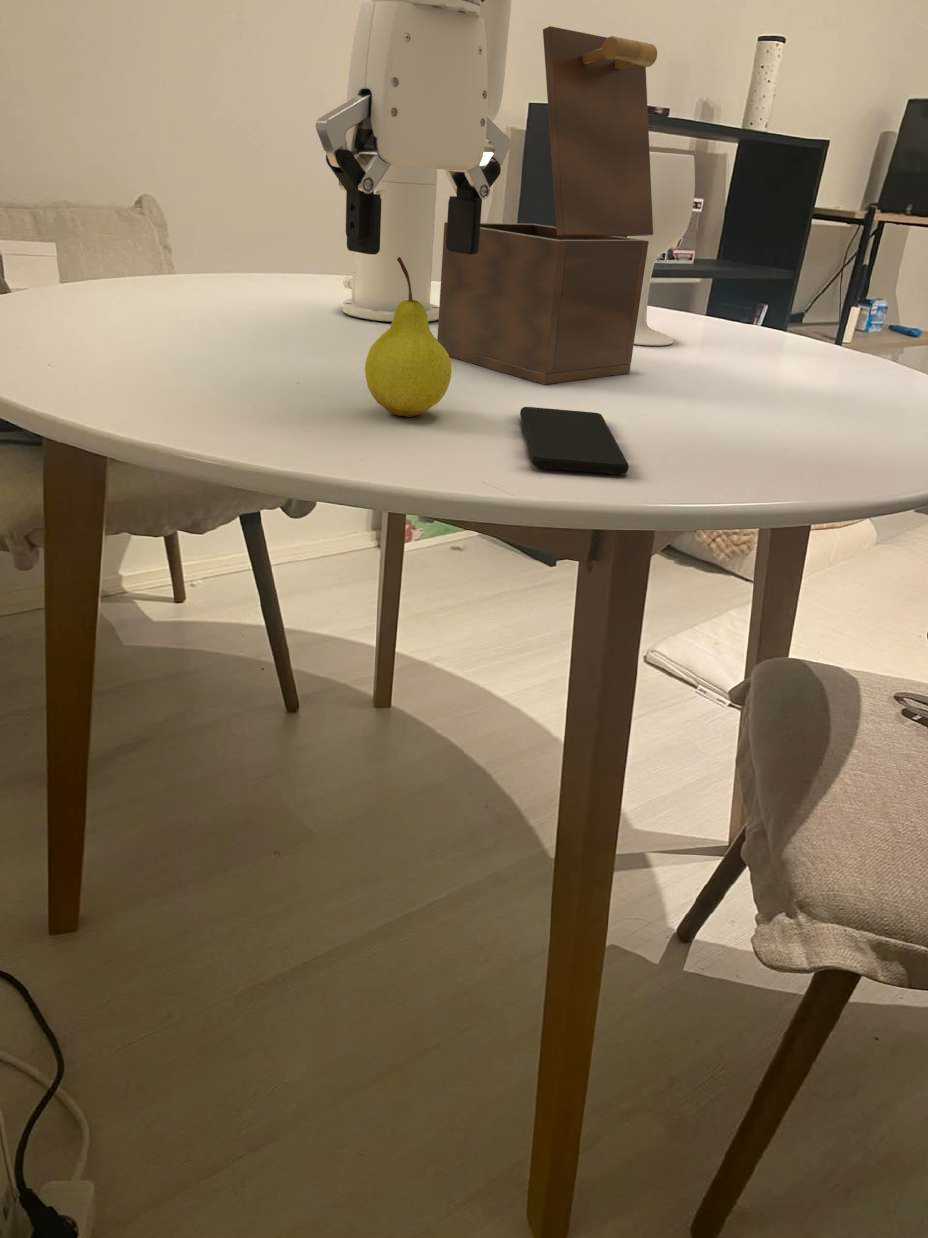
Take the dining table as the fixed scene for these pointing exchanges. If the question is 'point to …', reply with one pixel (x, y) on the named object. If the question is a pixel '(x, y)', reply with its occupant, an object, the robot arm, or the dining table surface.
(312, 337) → the dining table surface
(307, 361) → the dining table surface
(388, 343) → the fruit
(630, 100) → the lid
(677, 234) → the wineglass
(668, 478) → the dining table surface
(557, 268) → the chest
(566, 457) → the smartphone
